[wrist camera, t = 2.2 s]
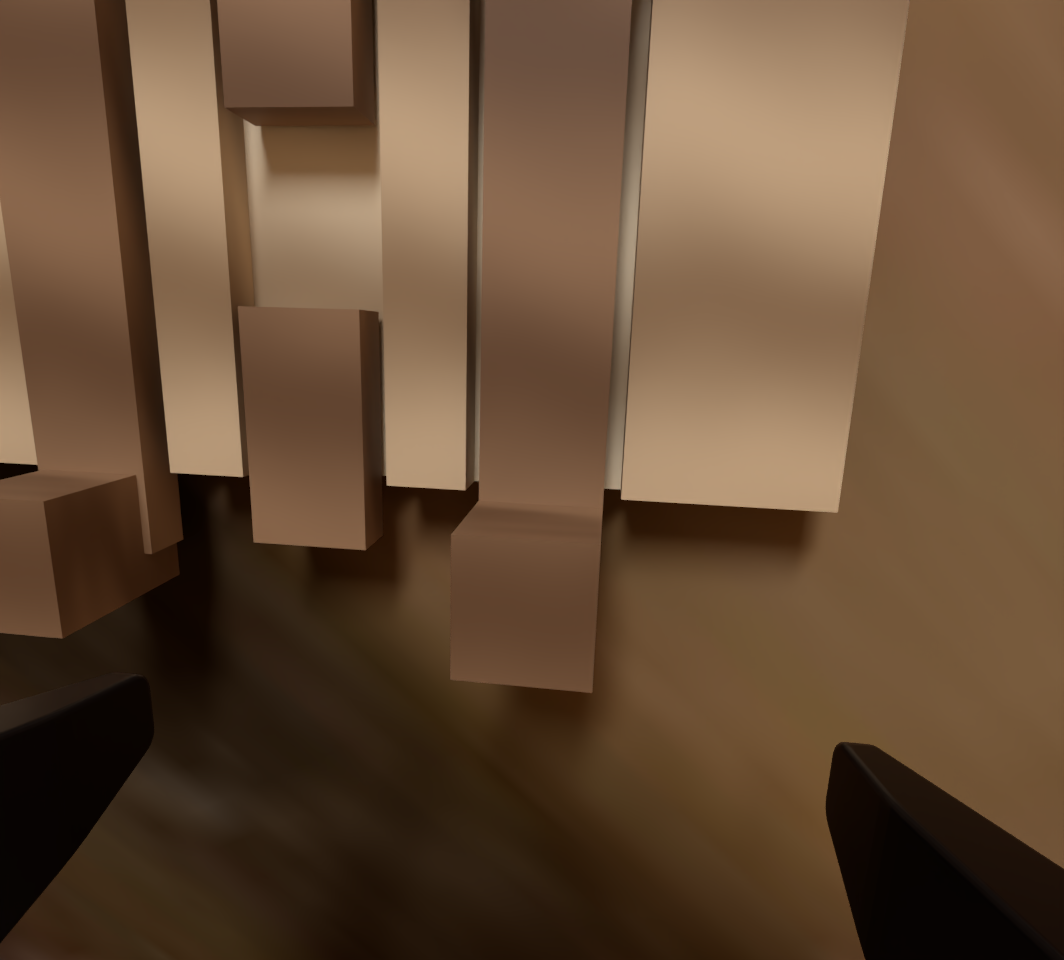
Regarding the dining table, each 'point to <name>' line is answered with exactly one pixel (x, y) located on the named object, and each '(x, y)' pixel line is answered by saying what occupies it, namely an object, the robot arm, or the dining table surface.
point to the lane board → (456, 249)
